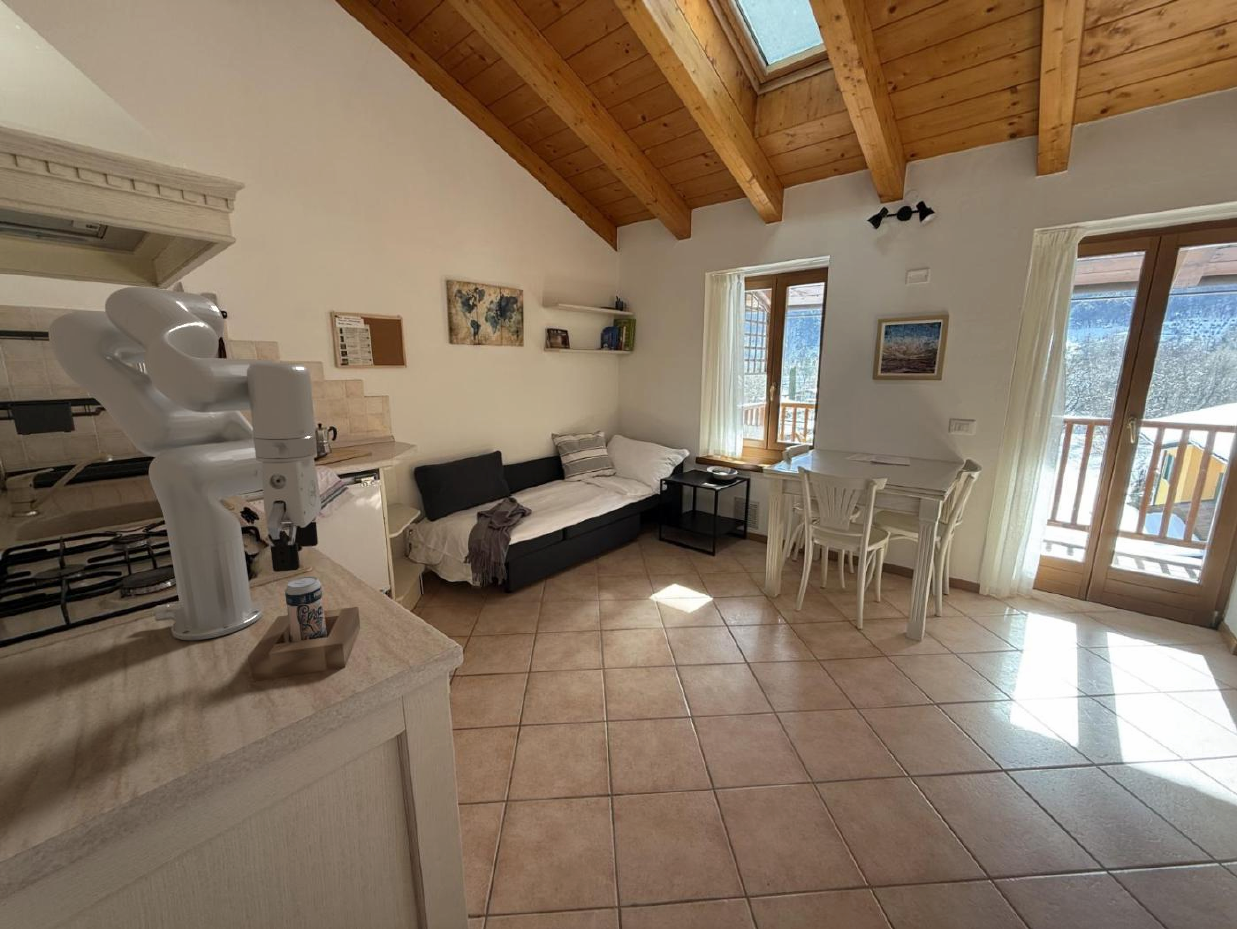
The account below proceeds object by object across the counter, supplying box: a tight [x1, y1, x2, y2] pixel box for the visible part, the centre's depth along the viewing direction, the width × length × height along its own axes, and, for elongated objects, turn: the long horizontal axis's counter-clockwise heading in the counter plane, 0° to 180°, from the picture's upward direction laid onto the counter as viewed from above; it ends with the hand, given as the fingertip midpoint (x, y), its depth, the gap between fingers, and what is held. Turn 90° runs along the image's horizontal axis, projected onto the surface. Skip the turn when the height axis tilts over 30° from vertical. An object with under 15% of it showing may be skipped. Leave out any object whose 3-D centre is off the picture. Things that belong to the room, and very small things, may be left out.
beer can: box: [284, 576, 327, 642], centre depth 77 cm, size 5×5×12 cm
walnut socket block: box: [248, 606, 361, 682], centre depth 78 cm, size 12×12×4 cm
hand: (297, 557), depth 75 cm, fingers open, 9 cm apart
